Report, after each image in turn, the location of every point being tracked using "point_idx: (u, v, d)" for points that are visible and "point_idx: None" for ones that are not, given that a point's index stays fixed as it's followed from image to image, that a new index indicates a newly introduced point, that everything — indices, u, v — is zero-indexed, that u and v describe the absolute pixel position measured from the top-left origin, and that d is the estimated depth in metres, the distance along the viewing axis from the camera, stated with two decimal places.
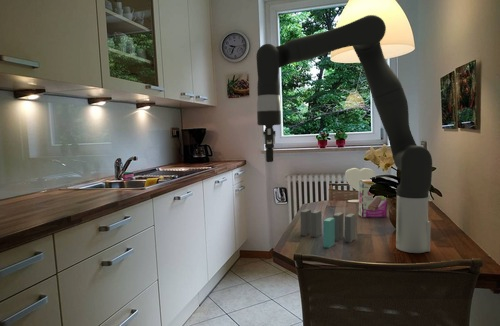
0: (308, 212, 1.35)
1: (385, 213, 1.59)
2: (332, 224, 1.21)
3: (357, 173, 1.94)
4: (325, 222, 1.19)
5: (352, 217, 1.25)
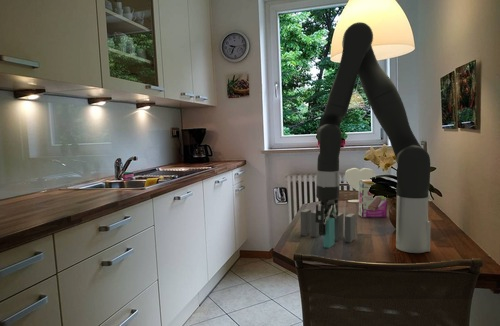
0: (308, 212, 1.35)
1: (385, 213, 1.59)
2: (332, 224, 1.21)
3: (357, 173, 1.94)
4: None
5: (352, 217, 1.25)
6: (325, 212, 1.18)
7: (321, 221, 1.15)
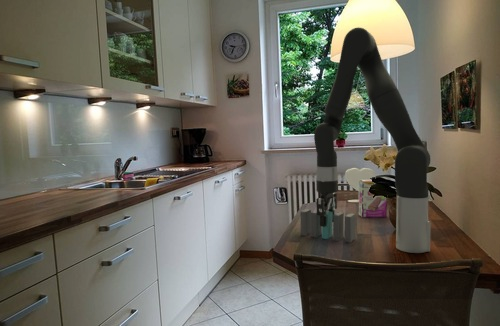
0: (308, 212, 1.35)
1: (385, 213, 1.59)
2: (330, 217, 1.31)
3: (357, 173, 1.94)
4: None
5: (352, 217, 1.25)
6: (325, 205, 1.28)
7: (322, 213, 1.25)
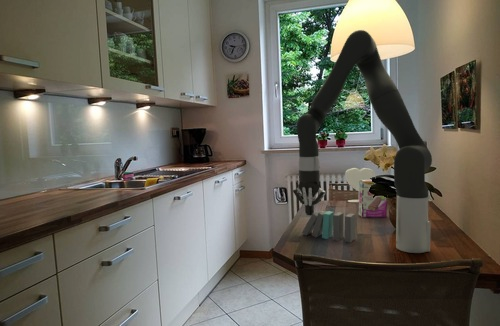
0: None
1: (385, 213, 1.59)
2: (331, 218, 1.31)
3: (357, 173, 1.94)
4: (325, 215, 1.29)
5: (352, 217, 1.25)
6: None
7: (318, 201, 1.33)
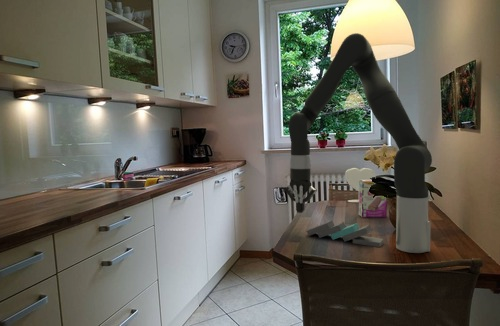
0: (330, 227, 1.31)
1: (385, 213, 1.59)
2: None
3: (357, 173, 1.94)
4: (351, 228, 1.24)
5: None
6: None
7: (309, 199, 1.35)
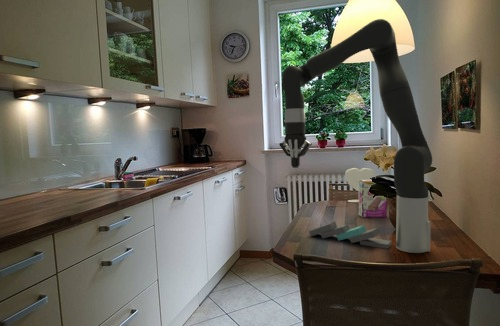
0: None
1: (385, 213, 1.59)
2: None
3: (357, 173, 1.94)
4: (357, 231, 1.21)
5: None
6: None
7: (304, 153, 1.35)
